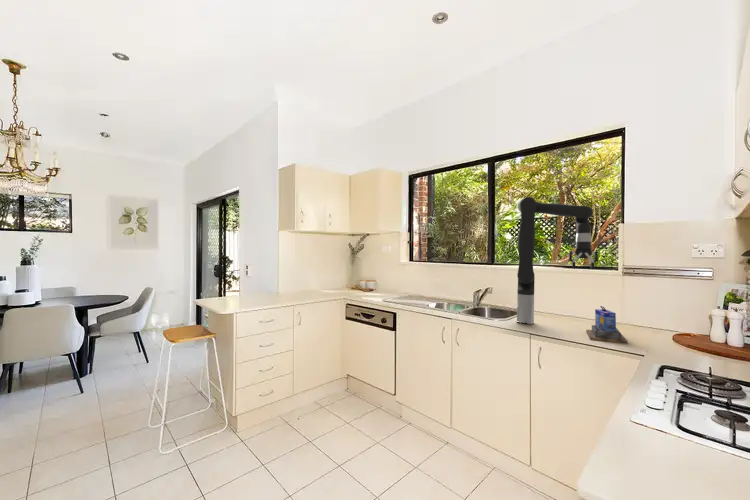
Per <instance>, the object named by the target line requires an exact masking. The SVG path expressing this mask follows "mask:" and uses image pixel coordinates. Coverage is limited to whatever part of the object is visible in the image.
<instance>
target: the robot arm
mask: <svg viewBox="0 0 750 500" xmlns="http://www.w3.org/2000/svg"><path fill="white" fill-rule="evenodd" d="M517 209H518V211H519V212H520V217H521V218H520V226H519V229H518V236H517V246H518V247H517V248H518V251H517V252H518V268H517V273H516V274H517V295H516V296H517V303H516V304H517V305H516V306H517V307H516V322H517V321H519V322H522V323H527V324H526V325H533V323H535V272H534V263H533V262H534V260H533V259H534V253H535V247H536V245H535V244H536V226H535V217H536V214H545V215H553V216H558V217H565V218H566V217H570V218H571V217H573V218H574V219H575V224H576V236H575V251H573V250H570V251H569V255H568V260H569V262H572V264H571V265H572V268H573V269H576V261H578V259H588V260H589V261H590V269H591V270H593V269H594V268H595V263H597V262H599V256H598V255H599V254H598V251H597V250H596V251H592V233H591V232H592V230H591V229H592V227H591V226H592V225H591V224H590V223H589V219H590V218H591V217H592V216H593V212H594V210H593V209H592V208H591V207H590V206H587V205H571V204H563V203H553V202H552V203H548V202H547V203H546V202H538V201H536V200H535V199H534V197H531V196H524V198H521V199H520V200H519V202H518V203H517ZM574 254H575V255H576V256H575V257H574V258H573V255H574ZM591 255H593V256H594V259H593V258H592V257H591ZM522 323H521V324H522Z"/></svg>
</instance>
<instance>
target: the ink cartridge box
mask: <svg viewBox="0 0 750 500" xmlns="http://www.w3.org/2000/svg"><path fill="white" fill-rule="evenodd" d="M600 308H601V309H599V308H597V309H596V308H595V309H594V314H595V315H594V317H595V319H594V321H595V323H594V324H595V328H596V329H597V331H604V332H614V333H616V328H617V323H616V322H617V321H616V320H617V316H616V315H617V314H616V312H614V311H611V310H608V309H606V307H604V306H601V305H600Z"/></svg>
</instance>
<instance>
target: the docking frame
mask: <svg viewBox="0 0 750 500" xmlns="http://www.w3.org/2000/svg"><path fill="white" fill-rule="evenodd" d="M585 332H586V334H587V336H588V338H589V340H591V341H597V342H606V343H607V342H608V343H616V344H625V345H626V344H627V345H628V344H629V343H628V340H627V339H626V337H625V336H624V335H623V334H622V333H621V331H619V329H618V328H617V327H616V333H614V332H604V331H597V329H596V328H595V325H594V324H591V329H586V331H585Z"/></svg>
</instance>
